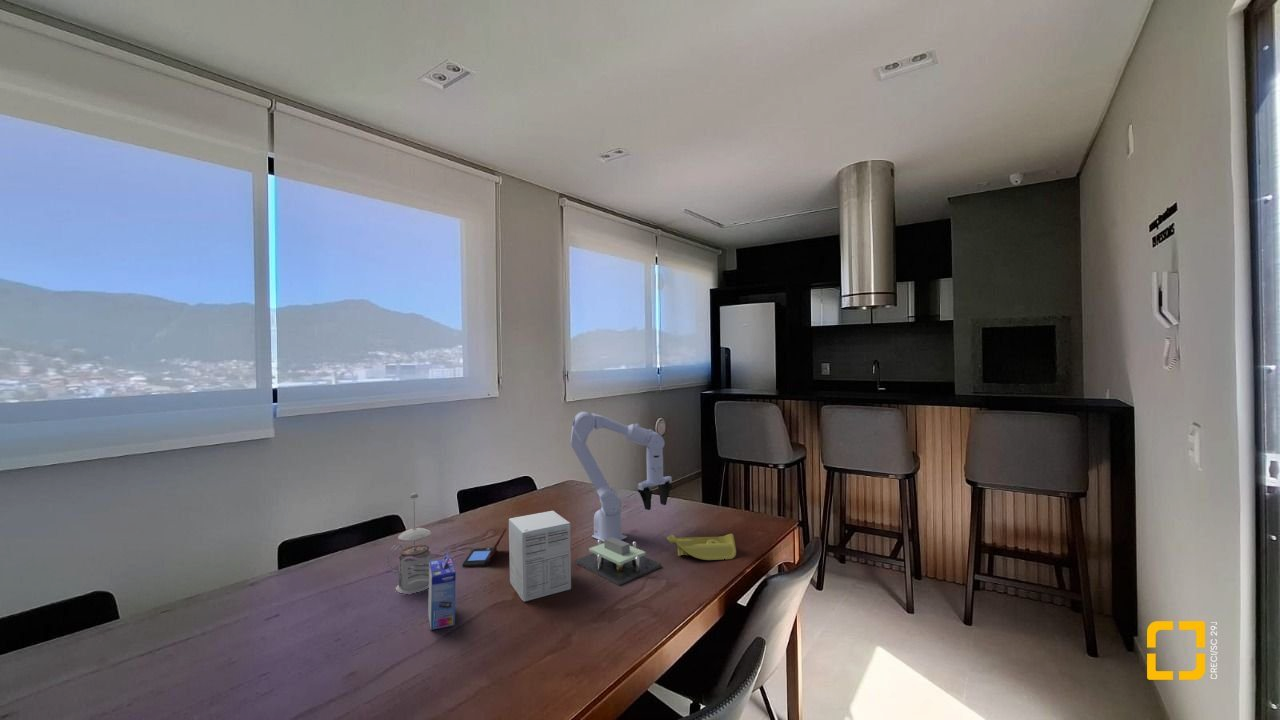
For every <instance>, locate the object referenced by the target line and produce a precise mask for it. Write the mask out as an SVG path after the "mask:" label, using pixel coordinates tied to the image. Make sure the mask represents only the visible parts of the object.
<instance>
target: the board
mask: <svg viewBox="0 0 1280 720" xmlns="http://www.w3.org/2000/svg"><path fill="white" fill-rule="evenodd" d="M588 551H589V552H590V553H591V554H593V553H594V554H596V555H598V554H601V557H603V558H605V559H607V560H609V561H611V562H613V563H616V564H618V565H622V564H624V563H627V562H629V561H632V560H634V559H636V556H639V557H642V556H644V557H645V556H646V555H647V552H646V551H644V550H643V549H639V548H637V547H636V548H635V547H633V545H630V543H628V542H625V541H624V540H619V539H616V538H614V537H610V538H607V539H604V542H603V543H601V544H600V545H598V544H597V545H594V546H591V547H589V548H588Z"/></svg>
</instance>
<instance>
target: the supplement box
mask: <svg viewBox="0 0 1280 720" xmlns="http://www.w3.org/2000/svg"><path fill="white" fill-rule="evenodd" d="M508 544H509V550H508V551H509V583H510V584H511V586H512V588H513V589H514V591H515V592H516V593H517V596H519V597H520V599H521V600H522V601H523V602H524V603H525V602H529V601H532V600H536V599H539V598H542V597H546V596H549V595H555V594H557V593H562V592H564V591H565V592H567V591H569V590H571V589H572V571H571V569H572V568H571V567H572V562H571V561H572V560H571V554H572V553H571V522H570V521H568V520H566V519H565V518H564V517H563V516H561V515H560V514H559V513H557V512H556V511H554V510H550V511H549V510H548V511H543V512H538V513H533V514H527V515H521V516H515V517H511V518H509V519H508Z"/></svg>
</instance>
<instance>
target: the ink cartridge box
mask: <svg viewBox="0 0 1280 720" xmlns="http://www.w3.org/2000/svg"><path fill="white" fill-rule="evenodd" d="M456 572H457V571H456V569H455V566H454V562H453V559H452V557H450V554H449V552H447V553H446V555H445V556H444V557H443V558H442V559H436V560H431V561H430V562H429V589H428V600H427V602H428V603H427V605H428V606H427V607H428V610H427V612H428V613H427V615H428V620H429V628H430V631H433V630H437V629H444V628H448V627H453V626H455V625H456V579H457V578H456V576H457V575H456V574H457V573H456Z"/></svg>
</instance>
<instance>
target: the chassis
mask: <svg viewBox="0 0 1280 720" xmlns="http://www.w3.org/2000/svg"><path fill="white" fill-rule="evenodd" d="M600 544H602V541H601V540H598V539H597V545H600ZM632 547H635V548H637V541H635V540H634V541H632ZM576 563H577V564H576ZM575 564H576V565H578V564H579V565H578V566H580V565H581V566H580V567H582V568H584V567H585V568H584V569H586V570H587V571H590V572H591V573H594V574H596V575H597V574H598V576H599V575H600V576H599V577H601V576H602V577H601V578H603V577H604V580H605V579H606V580H607V581H609V582H611V583H613V584H615V585H617V586H621V585H624V584H627V583H628V582H631V581H633V580H635V579H637V578H639V577H640V578H641V577H642V576H644V575H647V574H649V573H651V572H654V571H656V570H658V569H660V568H662V563H660V562H658V561H656V560H654V559H651V558H648V557H646V556H645V555H644V556H642V557H639V556H636V559H634V560H632V561H629V562H627V563H624V564H622V565H618V564H616V563H613V562H611V561H609V560H607V559H605V558H603V557H601V554H598V555H596V554H594V553H591V554H588V555H585V556H583V557H580V558H577V559H575Z"/></svg>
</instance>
